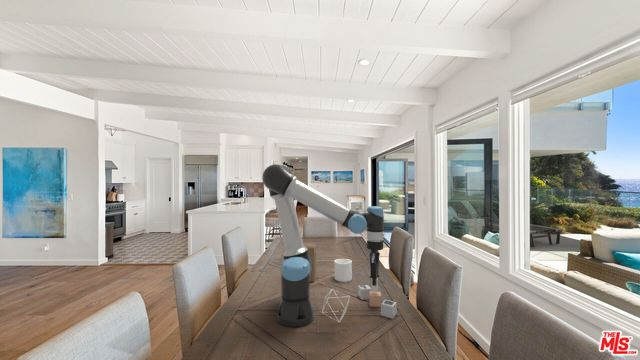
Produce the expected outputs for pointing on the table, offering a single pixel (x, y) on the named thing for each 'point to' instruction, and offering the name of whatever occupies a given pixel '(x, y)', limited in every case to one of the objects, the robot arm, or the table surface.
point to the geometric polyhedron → (340, 301)
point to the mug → (343, 270)
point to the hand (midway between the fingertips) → (374, 291)
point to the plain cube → (375, 299)
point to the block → (312, 259)
